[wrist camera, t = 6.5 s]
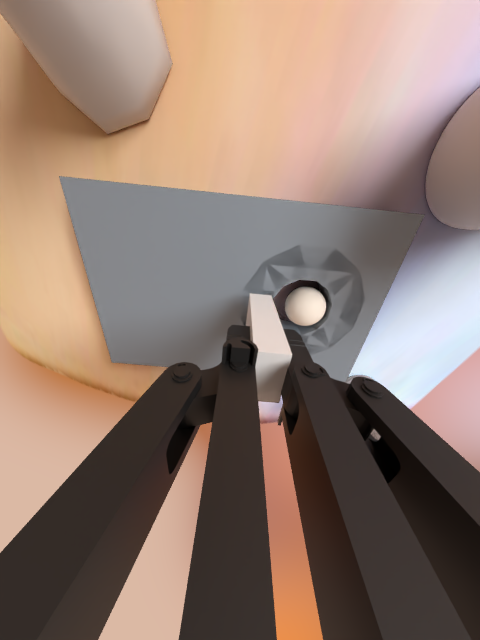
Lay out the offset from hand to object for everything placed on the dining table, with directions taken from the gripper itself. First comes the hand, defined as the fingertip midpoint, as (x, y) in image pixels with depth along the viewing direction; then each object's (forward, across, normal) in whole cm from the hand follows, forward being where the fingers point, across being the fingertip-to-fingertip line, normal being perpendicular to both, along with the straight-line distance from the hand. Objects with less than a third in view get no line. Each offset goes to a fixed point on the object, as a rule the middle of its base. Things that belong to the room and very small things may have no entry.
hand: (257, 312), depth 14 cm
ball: (+2, +4, 0) cm, 5 cm away
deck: (+4, -2, 0) cm, 4 cm away
